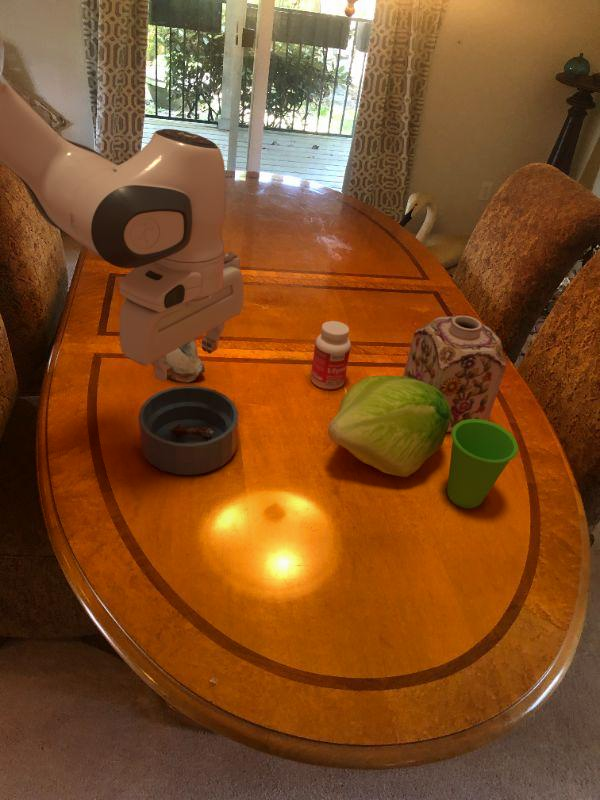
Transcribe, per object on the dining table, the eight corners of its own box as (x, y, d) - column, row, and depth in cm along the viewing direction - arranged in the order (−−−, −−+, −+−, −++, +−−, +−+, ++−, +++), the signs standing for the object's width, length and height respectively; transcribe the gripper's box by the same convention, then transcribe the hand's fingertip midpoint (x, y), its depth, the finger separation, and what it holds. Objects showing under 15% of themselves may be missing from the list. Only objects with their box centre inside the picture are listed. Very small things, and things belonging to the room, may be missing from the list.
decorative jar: (485, 432, 103) (518, 340, 93) (421, 436, 101) (447, 342, 90) (456, 390, 113) (483, 302, 102) (397, 393, 110) (418, 303, 99)
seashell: (169, 393, 106) (160, 354, 115) (209, 374, 106) (197, 337, 115) (152, 366, 102) (144, 329, 111) (193, 347, 102) (182, 311, 111)
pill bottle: (325, 394, 108) (333, 340, 101) (303, 377, 111) (310, 323, 105) (351, 384, 111) (361, 331, 104) (329, 367, 115) (337, 315, 108)
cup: (506, 500, 91) (531, 443, 84) (472, 529, 85) (495, 471, 79) (456, 466, 96) (476, 410, 89) (421, 492, 90) (438, 434, 84)
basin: (193, 492, 86) (193, 460, 82) (120, 449, 91) (117, 417, 88) (254, 441, 96) (257, 411, 92) (185, 405, 101) (185, 375, 98)
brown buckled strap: (216, 457, 89) (207, 430, 88) (178, 453, 94) (168, 427, 92) (224, 451, 91) (215, 424, 89) (186, 447, 95) (177, 421, 94)
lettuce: (300, 450, 95) (312, 366, 91) (405, 440, 105) (420, 363, 100) (349, 495, 83) (366, 401, 79) (462, 480, 93) (483, 394, 88)
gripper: (221, 241, 85) (218, 328, 93) (107, 286, 71) (115, 385, 79) (257, 254, 83) (251, 343, 91) (147, 305, 68) (151, 405, 76)
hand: (187, 363), depth 85 cm, fingers open, 8 cm apart
